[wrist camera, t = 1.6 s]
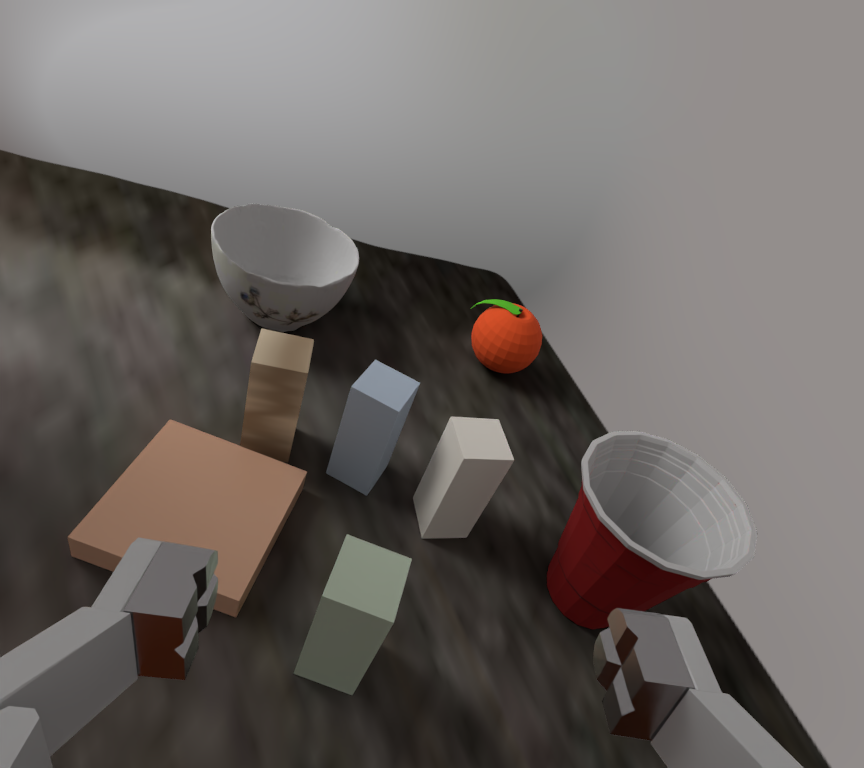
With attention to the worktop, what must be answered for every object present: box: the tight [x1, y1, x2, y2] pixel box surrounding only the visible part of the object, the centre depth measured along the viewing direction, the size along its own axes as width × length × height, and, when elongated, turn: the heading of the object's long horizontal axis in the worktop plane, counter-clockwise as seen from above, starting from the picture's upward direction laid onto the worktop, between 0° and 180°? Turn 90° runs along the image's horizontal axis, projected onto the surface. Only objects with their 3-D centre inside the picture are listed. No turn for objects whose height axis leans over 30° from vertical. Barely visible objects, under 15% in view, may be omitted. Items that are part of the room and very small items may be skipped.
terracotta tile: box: [68, 419, 307, 617], centre depth 36 cm, size 10×10×2 cm
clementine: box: [472, 300, 542, 373], centre depth 57 cm, size 8×7×7 cm
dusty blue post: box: [326, 360, 420, 496], centre depth 41 cm, size 4×4×9 cm
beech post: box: [240, 328, 314, 462], centre depth 40 cm, size 4×4×9 cm
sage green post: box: [293, 534, 412, 695], centre depth 30 cm, size 4×4×9 cm
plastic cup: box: [547, 431, 757, 629], centre depth 38 cm, size 11×11×12 cm
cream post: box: [413, 417, 514, 539], centre depth 40 cm, size 4×4×9 cm
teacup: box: [211, 204, 359, 332], centre depth 53 cm, size 15×12×8 cm
